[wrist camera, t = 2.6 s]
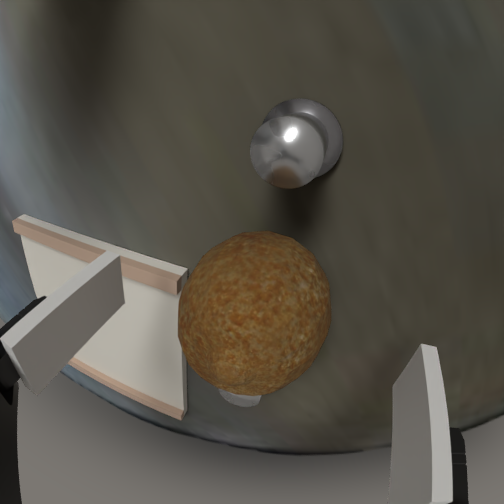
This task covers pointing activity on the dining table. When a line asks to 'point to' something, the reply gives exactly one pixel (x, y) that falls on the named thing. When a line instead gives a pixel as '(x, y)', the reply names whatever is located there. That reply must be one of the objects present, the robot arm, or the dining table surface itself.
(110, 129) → the dining table surface
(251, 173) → the dining table surface
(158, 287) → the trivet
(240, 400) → the pins
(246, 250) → the fruit
